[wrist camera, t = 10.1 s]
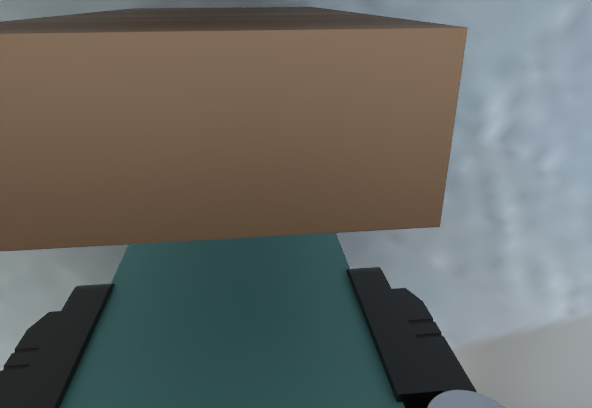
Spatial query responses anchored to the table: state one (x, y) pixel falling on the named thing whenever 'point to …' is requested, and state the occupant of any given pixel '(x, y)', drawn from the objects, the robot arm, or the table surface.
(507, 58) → the table surface
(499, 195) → the table surface
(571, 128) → the table surface
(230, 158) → the tile
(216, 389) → the tile
